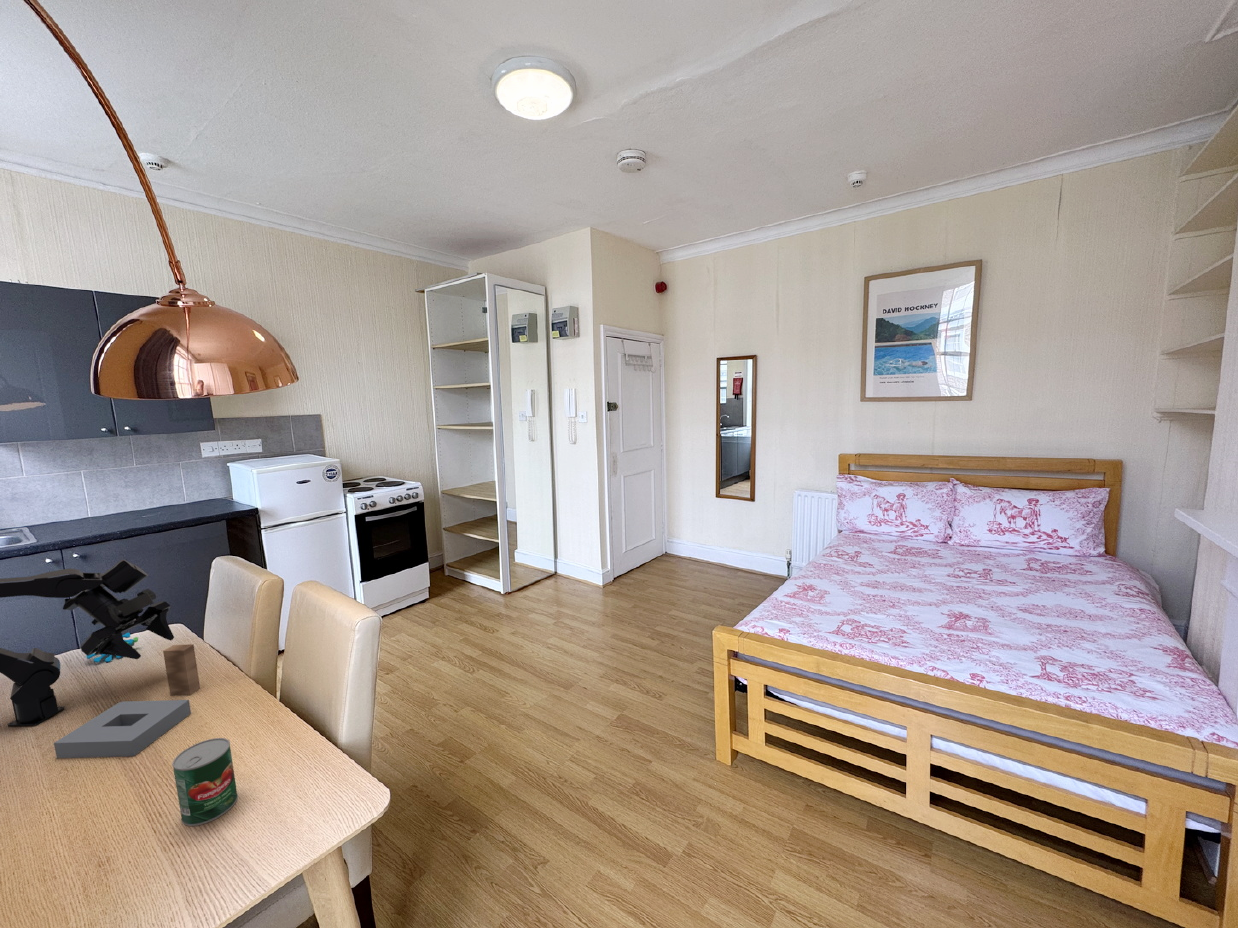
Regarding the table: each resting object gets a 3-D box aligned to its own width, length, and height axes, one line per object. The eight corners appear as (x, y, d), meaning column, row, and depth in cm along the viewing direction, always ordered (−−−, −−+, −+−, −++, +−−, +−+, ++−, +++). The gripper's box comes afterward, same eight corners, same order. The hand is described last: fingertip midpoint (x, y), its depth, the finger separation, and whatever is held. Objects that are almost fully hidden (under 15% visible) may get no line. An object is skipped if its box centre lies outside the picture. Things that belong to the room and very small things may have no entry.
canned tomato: (208, 790, 93) (199, 737, 92) (248, 790, 93) (241, 737, 92) (168, 826, 86) (159, 769, 84) (213, 826, 85) (204, 769, 84)
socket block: (56, 758, 103) (53, 742, 102) (122, 715, 117) (120, 701, 116) (134, 756, 103) (131, 740, 103) (191, 713, 117) (188, 699, 116)
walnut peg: (170, 695, 124) (163, 650, 123) (180, 688, 127) (173, 644, 126) (190, 695, 124) (183, 650, 123) (200, 688, 127) (193, 644, 126)
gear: (82, 664, 137) (84, 631, 142) (82, 673, 140) (84, 640, 145) (138, 654, 145) (138, 623, 150) (137, 663, 148) (137, 632, 153)
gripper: (84, 600, 113) (141, 644, 114) (158, 571, 131) (206, 609, 133) (55, 634, 114) (112, 677, 115) (133, 600, 132) (181, 638, 134)
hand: (156, 648), depth 124 cm, fingers open, 9 cm apart
